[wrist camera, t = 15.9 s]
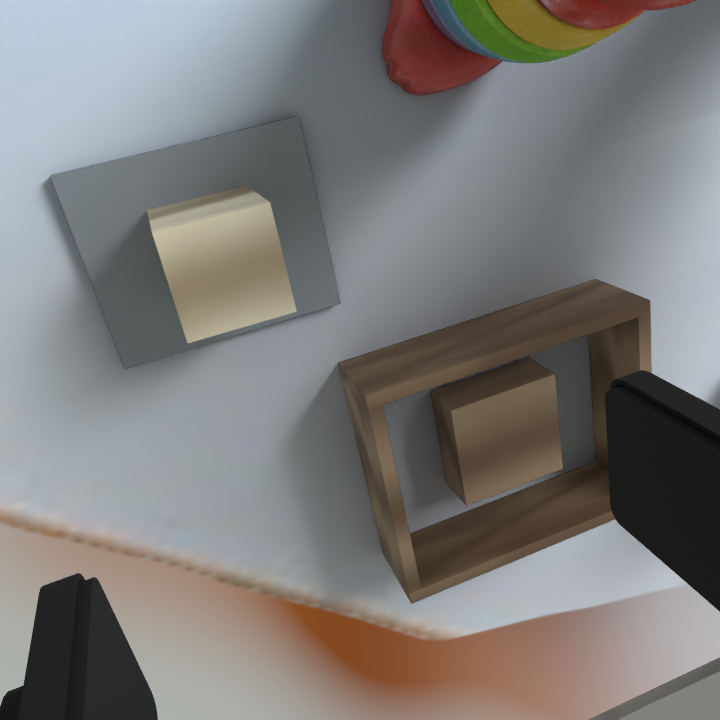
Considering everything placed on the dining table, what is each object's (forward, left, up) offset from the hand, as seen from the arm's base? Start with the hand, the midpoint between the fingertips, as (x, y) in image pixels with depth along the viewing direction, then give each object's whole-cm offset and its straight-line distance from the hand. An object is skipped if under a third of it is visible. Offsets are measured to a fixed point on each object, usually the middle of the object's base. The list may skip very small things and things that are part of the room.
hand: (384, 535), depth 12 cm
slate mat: (0, 0, -26) cm, 26 cm away
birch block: (0, 0, -26) cm, 26 cm away
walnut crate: (+16, +14, -26) cm, 34 cm away
